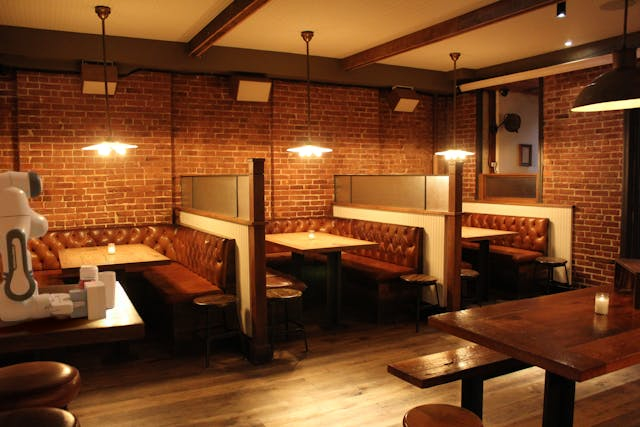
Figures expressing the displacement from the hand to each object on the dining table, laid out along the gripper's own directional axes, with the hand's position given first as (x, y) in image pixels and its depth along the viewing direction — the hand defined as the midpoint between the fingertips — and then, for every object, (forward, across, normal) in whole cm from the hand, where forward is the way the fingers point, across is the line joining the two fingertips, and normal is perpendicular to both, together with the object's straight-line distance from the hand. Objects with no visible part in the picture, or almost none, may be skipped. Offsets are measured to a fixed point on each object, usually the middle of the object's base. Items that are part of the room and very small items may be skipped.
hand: (83, 301), depth 219 cm
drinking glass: (+10, +11, +7) cm, 17 cm away
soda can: (+4, +19, +7) cm, 20 cm away
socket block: (+4, 0, +6) cm, 8 cm away
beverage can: (+8, +50, +7) cm, 51 cm away
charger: (-1, 0, +6) cm, 6 cm away
